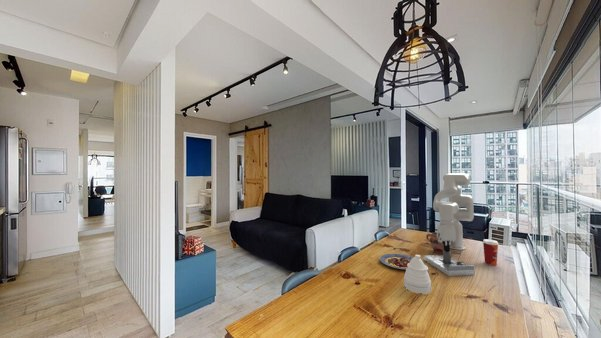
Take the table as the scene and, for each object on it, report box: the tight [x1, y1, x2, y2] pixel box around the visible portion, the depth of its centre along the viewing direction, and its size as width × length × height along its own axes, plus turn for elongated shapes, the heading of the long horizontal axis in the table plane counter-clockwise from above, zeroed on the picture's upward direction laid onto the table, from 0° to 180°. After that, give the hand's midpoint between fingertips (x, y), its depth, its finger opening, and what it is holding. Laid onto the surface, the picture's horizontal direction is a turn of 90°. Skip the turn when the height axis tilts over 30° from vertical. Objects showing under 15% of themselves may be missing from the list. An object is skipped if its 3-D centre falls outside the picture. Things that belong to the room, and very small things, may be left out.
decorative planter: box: [425, 231, 453, 255], centre depth 173 cm, size 20×12×14 cm, turn 31°
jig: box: [423, 254, 475, 277], centre depth 146 cm, size 24×16×5 cm, turn 4°
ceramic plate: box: [379, 253, 414, 270], centre depth 152 cm, size 26×26×3 cm
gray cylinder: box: [442, 250, 452, 264], centre depth 146 cm, size 4×4×10 cm
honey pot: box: [403, 254, 432, 295], centre depth 121 cm, size 13×13×18 cm
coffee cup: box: [482, 238, 499, 266], centre depth 151 cm, size 8×8×15 cm
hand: (446, 251), depth 146 cm, fingers closed
